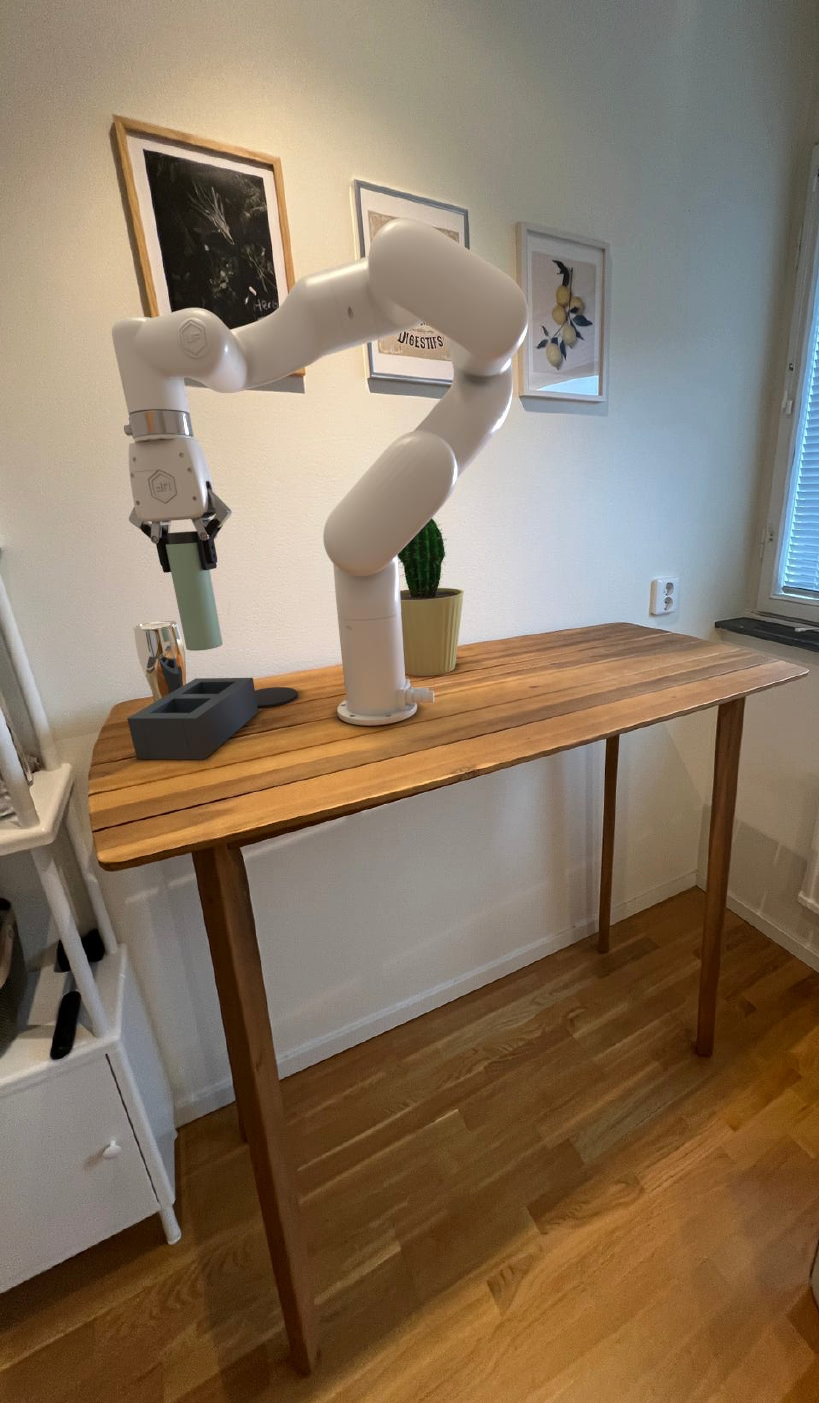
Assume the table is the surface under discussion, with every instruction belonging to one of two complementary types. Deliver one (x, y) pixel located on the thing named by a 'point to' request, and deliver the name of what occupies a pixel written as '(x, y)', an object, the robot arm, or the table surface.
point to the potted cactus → (428, 607)
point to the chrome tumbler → (161, 656)
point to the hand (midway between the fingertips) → (190, 568)
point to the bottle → (193, 592)
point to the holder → (193, 719)
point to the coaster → (274, 696)
